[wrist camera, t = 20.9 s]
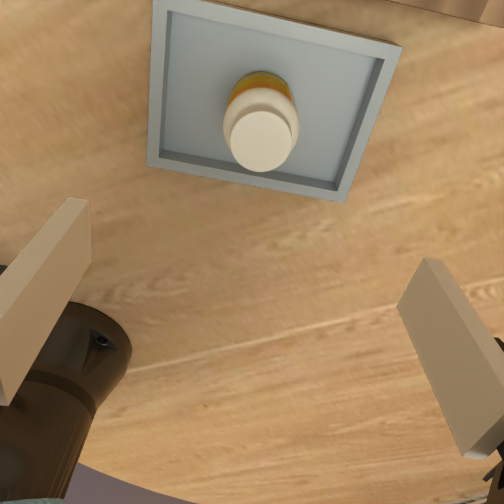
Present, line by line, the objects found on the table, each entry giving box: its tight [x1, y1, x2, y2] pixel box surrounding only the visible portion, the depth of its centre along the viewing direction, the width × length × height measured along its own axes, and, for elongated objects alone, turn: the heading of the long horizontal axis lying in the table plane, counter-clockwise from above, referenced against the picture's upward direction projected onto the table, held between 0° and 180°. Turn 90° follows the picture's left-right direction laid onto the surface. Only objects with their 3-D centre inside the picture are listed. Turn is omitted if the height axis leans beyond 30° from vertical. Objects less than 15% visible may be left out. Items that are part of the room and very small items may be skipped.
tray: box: [146, 0, 403, 203], centre depth 32 cm, size 18×13×2 cm
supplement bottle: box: [223, 70, 300, 172], centre depth 29 cm, size 5×5×10 cm
